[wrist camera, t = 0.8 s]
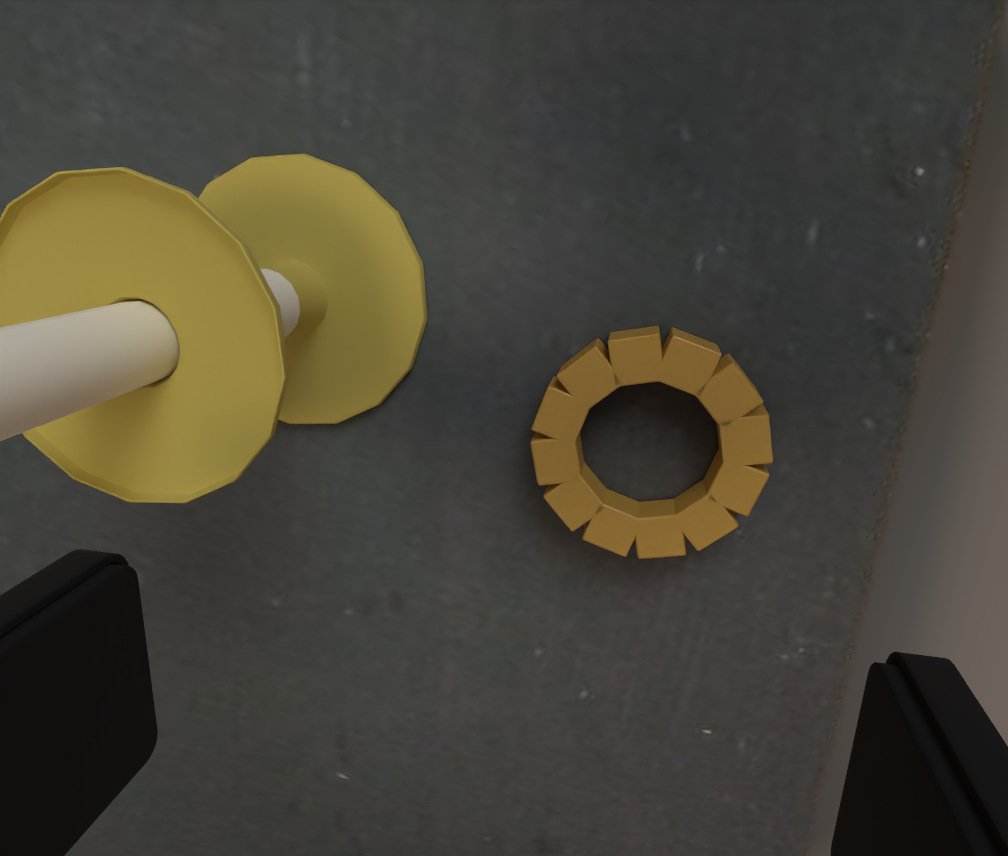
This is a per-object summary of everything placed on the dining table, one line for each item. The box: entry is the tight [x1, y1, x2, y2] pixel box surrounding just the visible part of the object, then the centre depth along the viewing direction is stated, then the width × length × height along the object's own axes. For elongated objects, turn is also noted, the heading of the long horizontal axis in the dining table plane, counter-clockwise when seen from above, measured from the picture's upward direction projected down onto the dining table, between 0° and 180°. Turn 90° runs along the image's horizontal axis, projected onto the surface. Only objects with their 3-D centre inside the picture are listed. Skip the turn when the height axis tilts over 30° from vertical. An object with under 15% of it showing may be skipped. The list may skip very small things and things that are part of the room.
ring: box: [530, 326, 773, 559], centre depth 26 cm, size 8×8×2 cm
